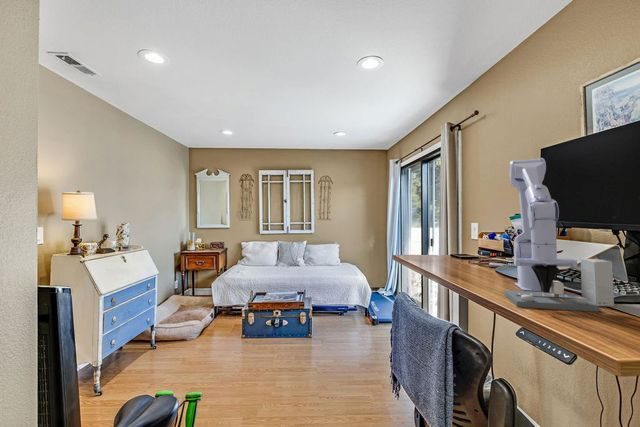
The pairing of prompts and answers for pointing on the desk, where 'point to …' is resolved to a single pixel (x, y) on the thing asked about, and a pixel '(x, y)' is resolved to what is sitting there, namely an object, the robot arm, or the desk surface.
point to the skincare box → (597, 281)
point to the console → (550, 300)
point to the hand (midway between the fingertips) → (545, 291)
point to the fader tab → (557, 288)
